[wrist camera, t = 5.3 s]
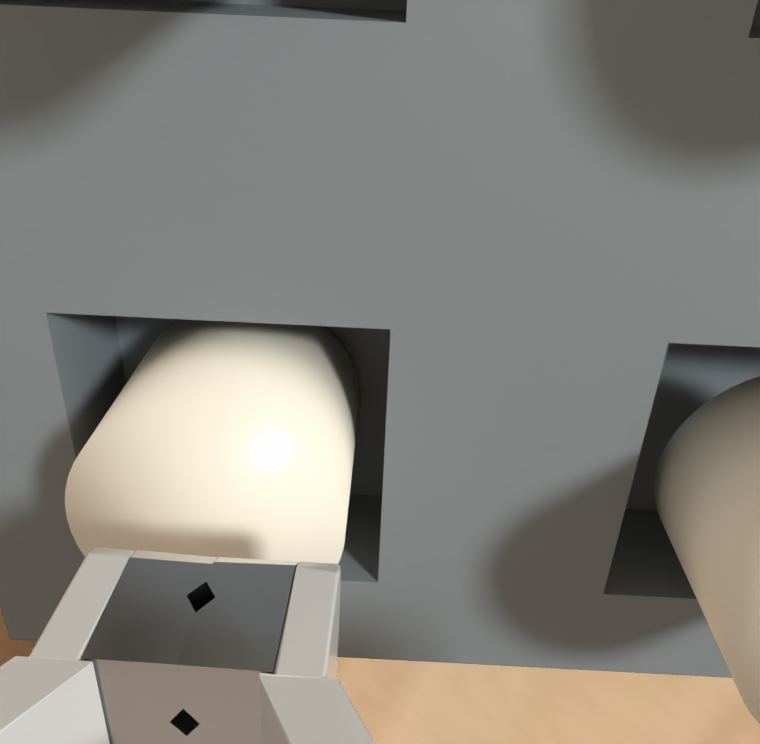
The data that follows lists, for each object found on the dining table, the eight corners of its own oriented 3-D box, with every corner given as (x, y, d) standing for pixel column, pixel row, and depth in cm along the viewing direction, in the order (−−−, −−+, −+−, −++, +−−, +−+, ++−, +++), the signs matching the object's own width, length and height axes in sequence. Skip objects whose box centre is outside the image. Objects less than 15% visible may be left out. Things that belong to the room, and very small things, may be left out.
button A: (362, 301, 13) (348, 414, 9) (357, 486, 14) (343, 630, 11) (131, 290, 13) (40, 399, 9) (157, 475, 15) (89, 616, 11)
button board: (1493, -691, 8) (2062, -1035, 5) (865, 573, 16) (952, 689, 14) (-211, -750, 8) (-523, -1109, 5) (72, 532, 17) (10, 639, 14)
